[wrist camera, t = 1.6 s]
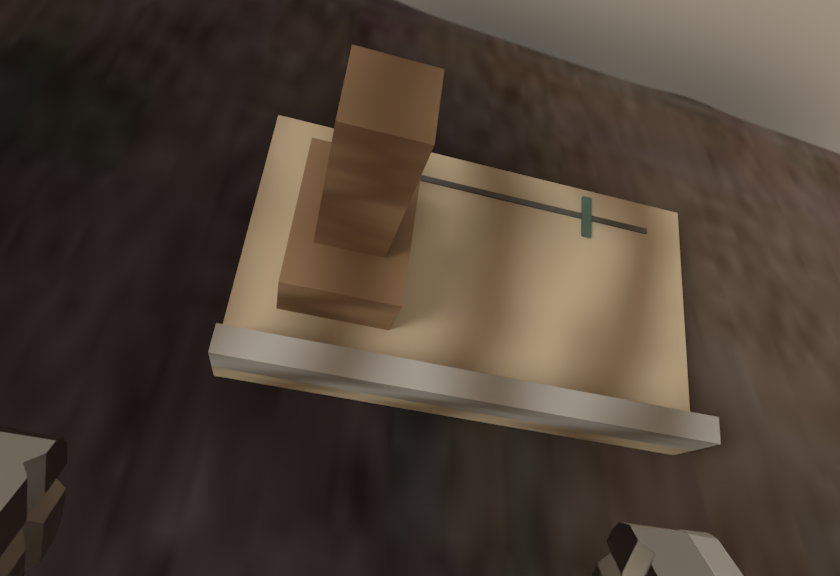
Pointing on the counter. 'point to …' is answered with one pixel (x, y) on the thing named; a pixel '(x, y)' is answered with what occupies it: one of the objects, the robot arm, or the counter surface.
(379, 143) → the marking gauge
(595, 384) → the birch board
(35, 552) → the robot arm
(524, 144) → the counter surface
